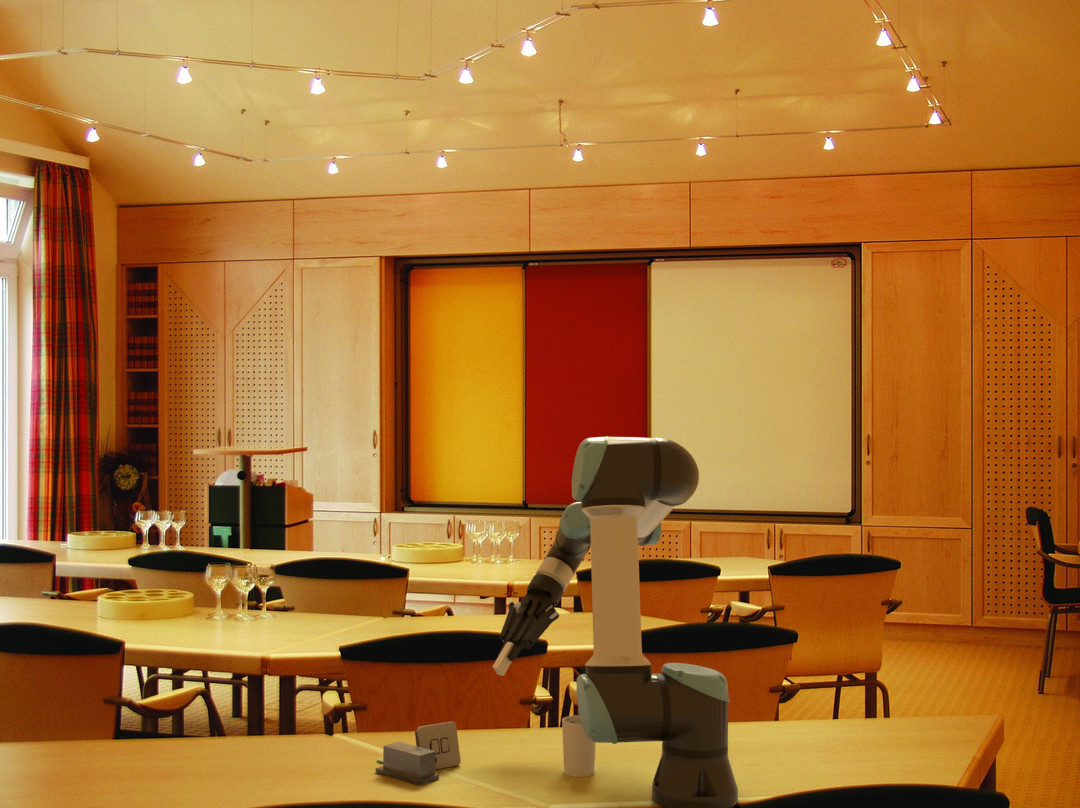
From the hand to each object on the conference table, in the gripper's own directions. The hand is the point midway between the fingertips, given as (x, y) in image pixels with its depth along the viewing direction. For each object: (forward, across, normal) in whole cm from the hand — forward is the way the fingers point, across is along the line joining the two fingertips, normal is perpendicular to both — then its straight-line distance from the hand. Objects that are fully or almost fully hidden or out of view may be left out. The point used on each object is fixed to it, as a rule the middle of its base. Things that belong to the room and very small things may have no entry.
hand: (497, 671), depth 224 cm
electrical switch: (+23, +1, +1) cm, 23 cm away
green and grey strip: (+21, +10, -1) cm, 23 cm away
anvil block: (+29, 0, +6) cm, 29 cm away
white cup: (+13, -23, -10) cm, 28 cm away
